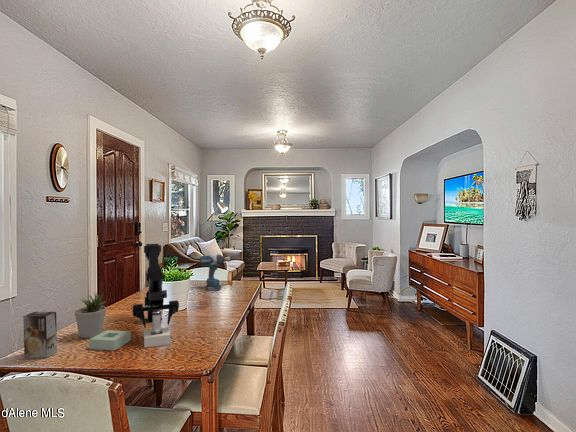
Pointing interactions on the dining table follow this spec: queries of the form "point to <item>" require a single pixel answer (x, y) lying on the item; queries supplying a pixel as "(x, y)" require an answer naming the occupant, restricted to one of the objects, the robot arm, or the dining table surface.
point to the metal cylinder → (156, 322)
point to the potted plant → (90, 317)
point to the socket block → (156, 338)
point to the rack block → (109, 340)
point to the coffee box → (40, 334)
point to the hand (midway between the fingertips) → (156, 325)
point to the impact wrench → (213, 269)
